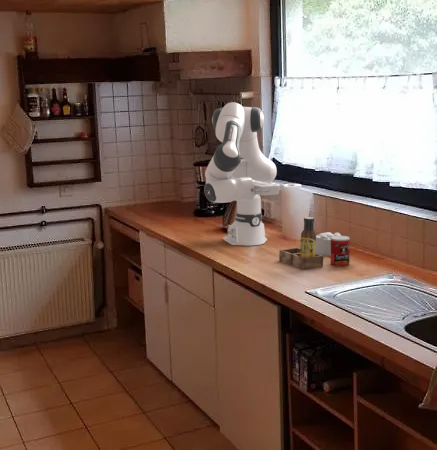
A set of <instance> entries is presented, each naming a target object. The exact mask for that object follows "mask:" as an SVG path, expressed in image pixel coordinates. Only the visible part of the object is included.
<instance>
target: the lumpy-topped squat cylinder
mask: <svg viewBox="0 0 437 450" xmlns="http://www.w3.org/2000/svg"><path fill="white" fill-rule="evenodd" d="M332 236H342V235H341V233H340V232H334V233H332V232H330V231H329V232H328V231H327V232H321V233H319V234H317V235H316V254H319V255H322V256H324V257H325V256H326V257H331V237H332Z"/></svg>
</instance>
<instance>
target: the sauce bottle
mask: <svg viewBox="0 0 437 450" xmlns="http://www.w3.org/2000/svg"><path fill="white" fill-rule="evenodd" d="M314 222H315V218H314V217H312V216H305V217H303V230H302V232H301V233H300V243H299V244H300V247H299V248H300V257H303V258H309V257H315V255H316V254H317V253H316V236H317V235H316V231H315V230H314Z"/></svg>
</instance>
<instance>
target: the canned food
mask: <svg viewBox="0 0 437 450" xmlns="http://www.w3.org/2000/svg"><path fill="white" fill-rule="evenodd" d="M350 245H351V239H350V236H348V235H347V236H346V235H341V236H332V237H331V256H330V264H331V265H332V266H335V267H346V266H349V264H350V258H351V257H350V254H351V253H350V252H351V251H350V250H351V249H350V248H351V246H350Z"/></svg>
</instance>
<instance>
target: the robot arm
mask: <svg viewBox="0 0 437 450" xmlns="http://www.w3.org/2000/svg"><path fill="white" fill-rule="evenodd" d="M211 122H212V123H211V124H212V127H213V129H214V130H215V136H216V138H217V140H219V142H221V143H220V144H219V145H218V146H217V147H216V148H215V151H214V153H213V156H212V157H211V160H210V161H209V162H208V165H207V167H206V169H205V171H204V177H205V184H204V186H203V192H204V196H205V197H206V199H207V200H208V201H209V202H211V203H215V204H223V203H232V202H235V201H236V211H237V212H236V213H234V216H235V218H234V222H232V223H231V225H229V226H228V227H227V235H226V236H223V237H222V240H224V241H225V242H227V243H228V244H229V245H231V246H260V245H263V244H265V243H266V242H267V241H268V238H267V237H266V232H265V224H264V223H263V213H262V198H261V196H276V195H279V194H280V191H282V190H283V191H284V190H285V185H284V184H276V183H271V182H273V181H274V180H275V178H276V177H277V172H278V171H277V166H276V163H274V162H273V161H272V159H269V158H268V157H266V156H265V155H264V153H263V152H262V151H261V148H260V145H259V141H258V133H257V132H260V131H261V130H262V129H263V126H264V123H265V116H264V113H263V110H262V109H261V108H260V107H256V106H251V107H250V106H243V105H241V104H240V103H239V102H238V103H237V102H235V101H234V102H228V103H226V104H225V105H224V106H223V107H219V108H216V109H215V110H214V111H213V113H212V118H211Z"/></svg>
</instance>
